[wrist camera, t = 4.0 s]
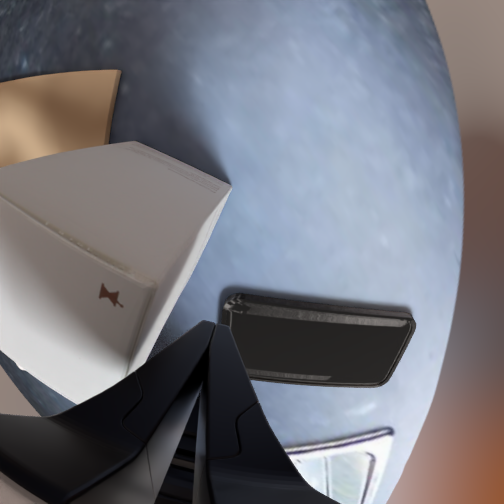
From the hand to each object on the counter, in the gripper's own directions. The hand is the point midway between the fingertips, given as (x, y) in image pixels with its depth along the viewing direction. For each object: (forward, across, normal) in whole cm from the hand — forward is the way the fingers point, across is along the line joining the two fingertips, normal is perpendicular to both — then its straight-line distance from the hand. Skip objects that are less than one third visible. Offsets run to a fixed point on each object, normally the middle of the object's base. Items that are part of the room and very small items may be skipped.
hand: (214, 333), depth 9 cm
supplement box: (+11, +6, 0) cm, 12 cm away
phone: (+11, -8, +8) cm, 16 cm away
